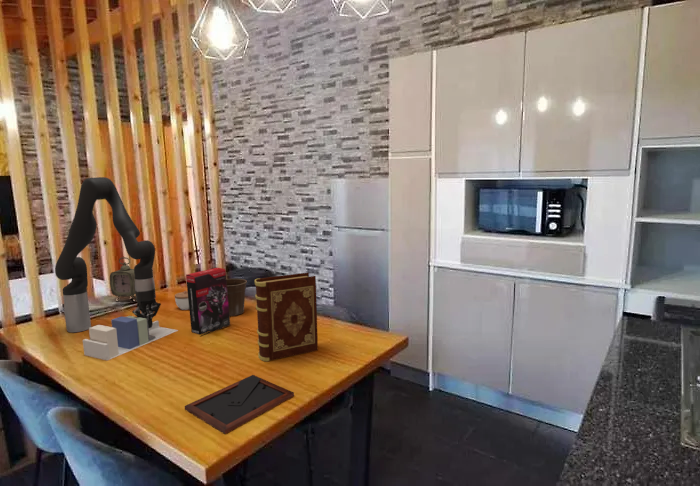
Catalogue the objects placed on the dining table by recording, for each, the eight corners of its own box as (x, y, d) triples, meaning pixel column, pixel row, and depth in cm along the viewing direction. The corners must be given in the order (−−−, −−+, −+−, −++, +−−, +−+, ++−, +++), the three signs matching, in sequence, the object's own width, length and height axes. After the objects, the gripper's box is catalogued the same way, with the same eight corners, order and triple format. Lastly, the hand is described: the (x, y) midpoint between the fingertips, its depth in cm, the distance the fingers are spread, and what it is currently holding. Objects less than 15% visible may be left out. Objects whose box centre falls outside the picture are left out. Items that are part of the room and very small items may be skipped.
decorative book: (262, 362, 155) (258, 283, 150) (256, 355, 162) (252, 278, 157) (318, 350, 165) (316, 275, 160) (310, 343, 172) (308, 272, 167)
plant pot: (234, 306, 226) (232, 276, 223) (255, 311, 216) (253, 280, 214) (208, 314, 213) (206, 283, 210) (229, 320, 203) (227, 287, 201)
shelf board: (84, 357, 162) (82, 340, 161) (157, 328, 192) (156, 313, 191) (107, 363, 156) (105, 345, 155) (178, 332, 187) (177, 317, 186)
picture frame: (253, 379, 143) (185, 411, 124) (252, 373, 143) (184, 405, 124) (294, 397, 131) (225, 436, 112) (293, 391, 130) (224, 429, 111)
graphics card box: (199, 337, 181) (195, 275, 176) (189, 334, 184) (184, 274, 180) (230, 326, 195) (227, 268, 191) (220, 323, 198) (217, 266, 194)
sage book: (123, 341, 174) (120, 318, 173) (131, 338, 178) (129, 315, 176) (140, 345, 170) (137, 321, 169) (148, 341, 174) (146, 318, 172)
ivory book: (91, 354, 162) (88, 328, 161) (101, 350, 166) (98, 324, 164) (109, 358, 158) (106, 331, 156) (118, 354, 162) (116, 328, 160)
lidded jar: (182, 304, 229) (181, 288, 228) (201, 305, 228) (199, 288, 226) (171, 311, 219) (170, 293, 217) (190, 311, 217) (189, 294, 216)
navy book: (114, 345, 170) (111, 319, 168) (124, 341, 174) (121, 316, 172) (129, 349, 166) (126, 322, 165) (139, 345, 170) (136, 319, 169)
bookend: (132, 337, 178) (130, 317, 176) (140, 334, 181) (138, 314, 180) (147, 340, 174) (145, 320, 173) (155, 337, 177) (153, 317, 176)
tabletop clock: (111, 302, 237) (107, 258, 233) (122, 297, 246) (118, 255, 242) (135, 302, 235) (130, 258, 231) (145, 298, 243) (141, 255, 240)
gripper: (151, 283, 184) (155, 321, 187) (124, 291, 173) (128, 331, 175) (164, 285, 181) (167, 323, 184) (137, 293, 169) (141, 334, 172)
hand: (148, 327), depth 180 cm, fingers closed
